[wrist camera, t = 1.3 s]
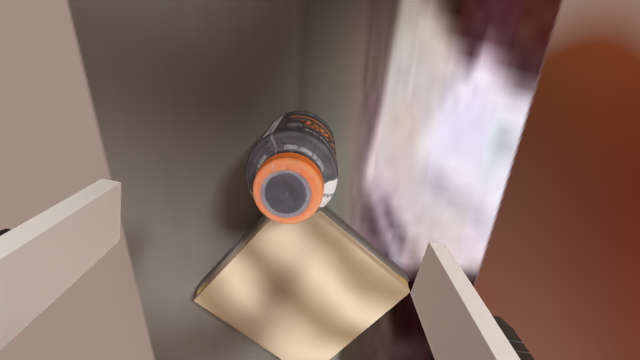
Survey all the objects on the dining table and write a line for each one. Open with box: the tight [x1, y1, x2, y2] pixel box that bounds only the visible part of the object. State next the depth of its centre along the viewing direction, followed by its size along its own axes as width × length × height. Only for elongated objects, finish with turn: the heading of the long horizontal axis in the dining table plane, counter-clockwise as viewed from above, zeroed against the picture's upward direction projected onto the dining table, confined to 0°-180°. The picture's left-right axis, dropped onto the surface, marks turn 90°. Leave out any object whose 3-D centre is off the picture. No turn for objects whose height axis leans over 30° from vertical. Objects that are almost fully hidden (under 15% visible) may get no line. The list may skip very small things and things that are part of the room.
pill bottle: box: [246, 111, 338, 224], centre depth 25 cm, size 6×6×11 cm
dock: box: [194, 206, 410, 360], centre depth 33 cm, size 14×14×3 cm
